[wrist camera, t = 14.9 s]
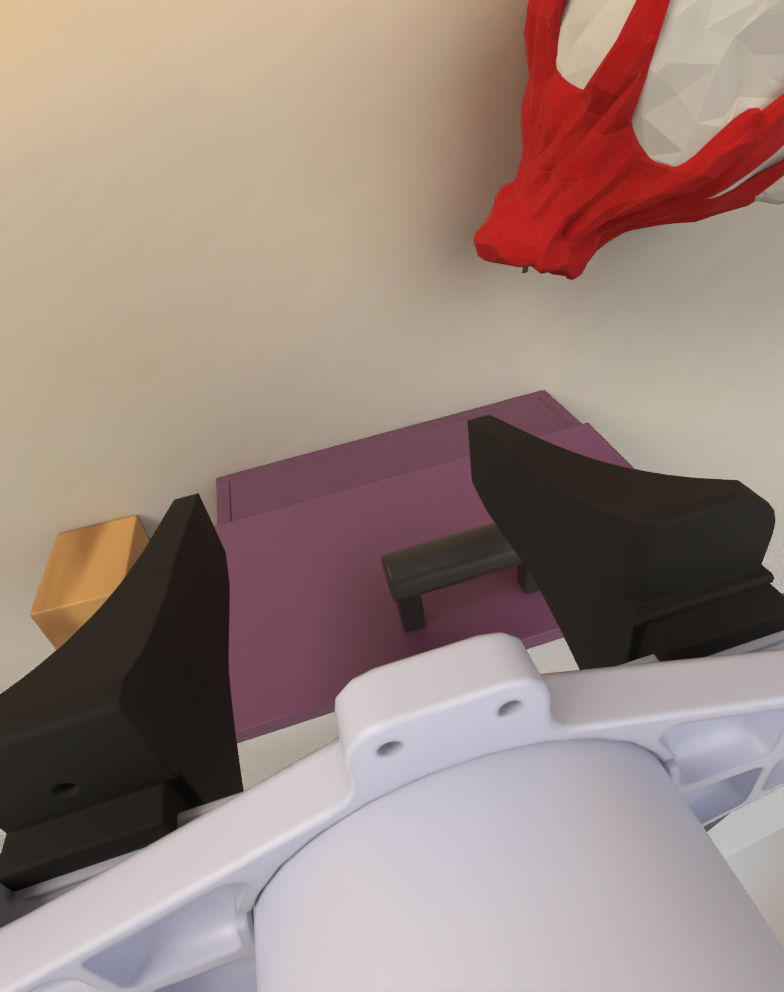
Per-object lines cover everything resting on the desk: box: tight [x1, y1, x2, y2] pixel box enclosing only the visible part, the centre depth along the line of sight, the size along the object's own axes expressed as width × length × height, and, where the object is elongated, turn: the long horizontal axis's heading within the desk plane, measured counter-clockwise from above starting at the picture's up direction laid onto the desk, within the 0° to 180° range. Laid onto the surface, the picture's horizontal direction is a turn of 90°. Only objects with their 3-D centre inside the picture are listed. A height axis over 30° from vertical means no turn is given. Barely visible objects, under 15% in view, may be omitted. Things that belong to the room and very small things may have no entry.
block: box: [30, 515, 150, 650], centre depth 24 cm, size 4×5×4 cm
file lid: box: [215, 423, 634, 743], centre depth 19 cm, size 9×16×4 cm
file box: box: [217, 390, 582, 526], centre depth 27 cm, size 8×16×4 cm, turn 99°
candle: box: [474, 0, 784, 280], centre depth 17 cm, size 9×11×15 cm
